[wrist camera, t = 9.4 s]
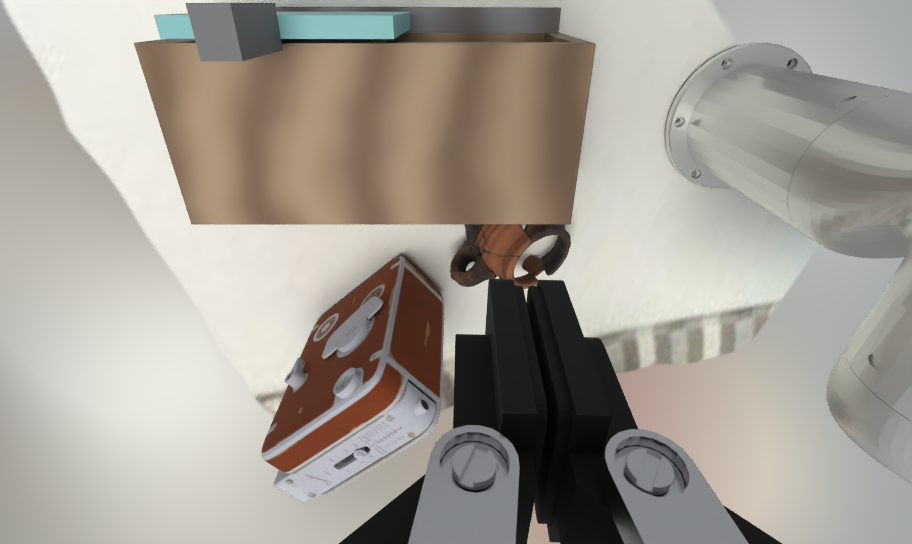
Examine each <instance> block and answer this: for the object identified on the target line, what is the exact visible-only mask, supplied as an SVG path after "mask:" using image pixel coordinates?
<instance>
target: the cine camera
mask: <svg viewBox="0 0 912 544" xmlns="http://www.w3.org/2000/svg"><path fill="white" fill-rule="evenodd" d="M443 335H444V300H443V297H442V295H441V293H440V292H439V291H438V290H437V289H436V288H435V287H434V286H433V285H432V284H431V283H430V282H429V281H428V280H427V279H426V278H425V277H424V276H423V275H422V274H421V273H420V272H419V271H418V270H417V269H416V268H415V267H414V266H413V265H412V264H411V263H410V262H409V261H407V260H406V259H405V258H404V257H402V256H399V257H396V258H395V259H393V260H392V261H390V262H389V263H388V264H386V265H385V266H384V267H383V268H381V269H380V270H379V271H378V272H376V273H375V274H374V275H373V276H371V277H370V278H369V279H367V280H366V281H365V282H364V283H362V284H361V285H360V286H359V287H357V288H356V289H355V290H353V291H352V292H351V293H350V294H348V295H347V296H346V297H345V298H343V299H342V300H341V301H340V302H338V303H337V304H336V305H334V306H333V307H332V308H331V309H329V310H328V311H327V312H326V313H325V314H323V315H322V316H321V317H320V318H319V320H318V321H317V322H316V324H315V326H314V328H313V330H312V332H311V334H310V336H309V338H308V341H307V343H306V345H305V348H304V350H303V352H302V354H301V357H300V358H298V359H297V361H296V363H295V365H294V367H293V369H292V370H291V372H290V373H289V374H288V375H287V377H286V379H285V383H287V384H288V387H287V389H286V391H285V394H284V396H283V398H282V401H281V403H280V405H279V408H278V410H277V412H276V415H275V417H274V419H273V422H272V424H271V426H270V429H269V431H268V434H267V436H266V438H265V442H264V444H263V448H262V457H263V459H264V460H265V461H266V462H268V463H269V464H271V465H273V466H274V467H276V468H277V469H279V472H278V474H277V477H276V479H275V482H274V485H273V486H274V487H276V488H278V489H279V490H281V491H283V492H284V493H286V494H288V495H290V496H291V497H293V498H294V499H296V500H298V501H300V502H301V503H303V504H306V503H308V502H310V501H311V500H313V499H314V498H316V497H317V496H319V495H321V494H322V495H328V494H331V493H332V492H334V491H336V490H338V489H340V488H341V487H343V486H345V485H347V484H348V483H350V482H352V481H353V480H355V479H357V478H358V477H360V476H362V475H363V474H365V473H367V472H368V471H370V470H372V469H374V468H375V467H377V466H379V465H380V464H382V463H383V462H385V461H387V460H388V459H390V458H392V457H394V456H395V455H397V454H399V453H400V452H402V451H403V450H405V449H407V448H409V447H411V446H412V445H413V444H415V443H417V442H418V441H420V440H422V439H423V438H424V437H426V436H427V435H428V434H429V433H430V432H431V431H432V430H433V429H434V427H435V426H436V424H437V421H438V418H439V414H440V409H441V399H442V367H443Z"/></svg>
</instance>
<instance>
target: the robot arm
mask: <svg viewBox="0 0 912 544" xmlns="http://www.w3.org/2000/svg"><path fill="white" fill-rule="evenodd" d="M723 61H724V64H723V65H722V62H723ZM787 63H788V64H787ZM676 119H678V121H677V122H676V123H675V121H676ZM665 140H666V149H667V152H668V155H669V158H670V160H671V162H672V163H673V165H674V167H675V168H676V169H677V170H678V171H679V172H680V173H681V174H682V175H683V176H684V177H685V178H687V179H688V180H689V181H691V182H693V183H695V184H697V185H700V186H702V187H706V188H711V189H729V188H734V189H736V190H737V191H739V192H740V193H742V194H743V195H745V196H746V197H748V198H749V199H751V200H752V201H754V202H755V203H757V204H758V205H760V206H761V207H763V208H764V209H766V210H767V211H769V212H770V213H772V214H773V215H775V216H776V217H778V218H779V219H781V220H782V221H784V222H786V223H787V224H789V225H790V226H792V227H793V228H795V229H796V230H798V231H799V232H801V233H802V234H804V235H805V236H807V237H809V238H810V239H812V240H813V241H815V242H816V243H818V244H820V245H822V246H824V247H826V248H828V249H829V250H832V251H835V252H838V253H841V254H844V255H849V256H855V257H862V258H899V257H905V258H904V260H903V261H902V263H901V265H900V266H899V268H898V269H897V271H896V272H895V274H894V276H893V277H892V279H891V280H890V282H889V286H888V287H887V288H886V290H885V291H884V293H883V294H882V296H881V297H880V299H879V300H878V301H877V303H876V304H875V306H874V307H873V309H872V311H871V312H870V313H869V315H868V316H867V318H866V319H865V320H864V322H863V323H862V325H861V326H860V328H859V329H858V331H857V332H856V334H855V335H854V336H853V338H852V339H851V341H850V342H849V344H848V345H847V347H846V349H845V350H844V352H843V353H842V355H841V357H840V358H839V359H838V361H837V363H836V365H835V366H834V368H833V370H832V372H831V374H830V377H829V380H828V384H827V402H828V406H829V409H830V412H831V414H832V416H833V417H834V419H835V421H836V422H837V424H838V425H839V427H840V428H841V429H842V430H843V431H844V432H845V433H846V435H847V436H848V437H849V438H850V439H851V440H852V441H853V442H854V443H855V444H857V445H858V446H859V447H860V448H861V449H862V450H863V451H864V452H866V453H867V454H868V455H870V456H871V457H872V458H874V459H875V460H876V461H878V462H879V463H880V464H882V465H883V466H885V467H886V468H888V469H889V470H891V471H892V472H894V473H895V474H897V475H898V476H900V477H901V478H903V479H904V480H906V481H908V482H909V483H911V484H912V93H907V92H902V91H897V90H892V89H887V88H882V87H877V86H872V85H867V84H862V83H857V82H852V81H847V80H842V79H837V78H832V77H826V76H822V75H817V74H813V73H812V71H811V69H810V67H809V65H808V64H807V63H806V62H805V60H804V59H803V58H802V57H801V56H800V55H798V54H797V53H796V52H794V51H793V50H792V49H789V48H786V47H783V46H780V45H776V44H770V43H751V44H745V45H740V46H736V47H734V48H731V49H729V50H726V51H724V52H722V53H720V54H718V55H717V56H715V57H713V58H712V59H710V60H708V61H707V62H706V63H705V64H704V65H702V66H701V67H700V68H699V69H697V70H696V71H695V72H694V73H693V75H692V76H691V77H690V78H689V79H688V80H687V81H686V82H685V84H684V85H683V87H682V88H681V90H680V91H679V93H678V94H677V96H676V98H675V100H674V102H673V104H672V106H671V109H670V112H669V115H668V119H667V122H666V132H665ZM693 171H694V172H693ZM534 503H535V511H536V517H537V521H538V523H540V524H547V528H548V534H549V540H550V542H560V543H561V544H782V543H780V542H779V541H777V540H776V539H774V538H773V537H771V536H769V535H768V534H766V533H765V532H763V531H762V530H760V529H759V528H757V527H756V526H754V525H752V524H751V523H750V522H748V521H746V520H745V519H743V518H742V517H740V516H739V515H737V514H736V513H734V512H733V511H731V510H729V509H728V508H726V507H725V506H723V505H722V503H721V502H720V500H719V499H718V497H717V496H716V494H715V493H714V491H713V490H712V489H711V487H710V485H709V484H708V482H707V481H706V479H705V478H704V476H703V475H702V473H701V472H700V471H699V469H698V468H697V466H696V465H695V463H694V462H693V460H692V459H691V458H690V457H689V456H688V454H687V453H686V452H685V451H684V450H683V449H682V448H681V447H680V446H678V445H677V444H676V443H674V442H673V441H672V440H670V439H668V438H666V437H664V436H662V435H660V434H658V433H655V432H651V431H647V430H640V429H638V428H637V425H636V423H635V420H634V418H633V416H632V413H631V411H630V408H629V406H628V403H627V401H626V399H625V396H624V393H623V391H622V389H621V386H620V384H619V381H618V379H617V376H616V374H615V371H614V369H613V367H612V364H611V362H610V359H609V357H608V354H607V352H606V349H605V347H604V345H603V343H602V341H601V339H599V338H587V337H584V336H583V333H582V330H581V328H580V325H579V322H578V319H577V317H576V314H575V311H574V308H573V305H572V303H571V300H570V297H569V294H568V291H567V289H566V286H565V283H564V281H561V280H538V282H537V286H529V288H528V294H527V303H526V300H525V295H524V290H523V286H515V285H514V280H513V279H489V285H488V300H487V315H486V331H485V335H465V334H456V341H455V379H454V418H453V429H452V430H450V431H449V432H447V433H445V434H444V435H443V436H442V437H441V438H440V439H439V440H438V441H437V442H436V443H435V446H434V448H433V450H432V452H431V456H430V459H429V463H428V467H427V471H426V474H425V475H424V476H423V477H422V478H420V479H419V480H418V481H416V482H415V483H414V484H413V485H411V486H410V487H409V488H408V489H406V490H405V491H404V492H403V493H401V494H400V495H399V496H398V497H397V498H395V499H394V500H393V501H391V502H390V503H389V504H388V505H387V506H385V507H384V508H383V509H382V510H380V511H379V512H378V513H376V514H375V515H374V516H373V517H371V518H370V519H369V520H368V521H367V522H365V523H364V524H363V525H362V526H360V527H359V528H358V529H357V530H355V531H354V532H353V533H352V534H350V535H349V536H348V537H347V538H345V539H344V540H343V541H342V542H340V543H339V544H527V539H528V533H529V527H530V522H531V517H532V511H533V505H534Z"/></svg>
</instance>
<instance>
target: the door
mask: <svg viewBox="0 0 912 544" xmlns="http://www.w3.org/2000/svg"><path fill="white" fill-rule="evenodd" d="M186 6H187V10H188V14H168V15H154V17H155V21H156V24H157V28H158V31H159V34H160V38H161V39H195V41H196V45H197V49H198V53H199V57H200V61H246V60H250V59H253V58H257V57H260V56H264V55H268V54H271V53H275V52H278V51H282V50H283V48H282V42H281V39H395V38H397V37H398V36H400V35H401V34H403V33H405V32H406V31H408V30H410V29H411V22H410V12H276V7H275V3H186Z"/></svg>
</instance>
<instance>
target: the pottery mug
mask: <svg viewBox="0 0 912 544" xmlns="http://www.w3.org/2000/svg"><path fill="white" fill-rule="evenodd" d="M465 228H466V235H467V240H466V241H465V244H464V245H463V246H462V248H461V249H460V250H459V251H458V252H457V253H456V255H455V256H454V258H453V260H452V262H451V270H450V272H451V278H452V279H453V280H455V281H456V282H457V283H458V284H459V285H461V286H466V287H470V286H475V285H477V284H479V283H481V282H483V281H485V280H487V279H495V278H496V277H497V276H498V277H500V278H499V279H513V280H514V285H515V286H523V289H526V288H529V286H535V285H537V282H538V280H537V279H536V278H535V276H537V275H539V274H540V273H541V272H542V271H543V270H545V272H546V274H547V275H548V276H549V275H552V274H553V273H555V271H556V270H557V269H558V268H559V267H560V266H561V264H562V263H563V262H564V260H565V259H566V257H567V254H568V252H569V248H570V244H571V242H570V235H569V233H568V232H567V231H566V230H565V226H564V224H527V225H526V227H525V229H524V230H523V228H522V226H521V225H520V224H465ZM549 235H558V238H557V241H556V243H555V245H554V247H553V248H552V249H551V251H549V252H548V253H547V254H546V255H545V256H543V257H542V258H541V259H539V258H538V257H534V256H530V257H528V258H527V259H526V260H525V262H524V263H523V264H522V268H523V269H524V270H526V271H527V272H528V274H527V275H524V276H521V277H517V278H515V277H514V268H515V265H516V263H517V261H518V259H519V257H520V256H521V255H522V253H523V252H524V251H525V250H526V249H527V248H528V247H529V246H530V245H531V244H532V243H533V242H535V241H537V240H539V239H541V238H543V237H545V236H549ZM479 248H480V249H482V250H484V251H483V253H482V254H481V251H480V249H479ZM470 262H475V264H474V265H473V267H472V268H470V269H469V270H468V271H466V268H467V265H468V264H469V263H470Z"/></svg>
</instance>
